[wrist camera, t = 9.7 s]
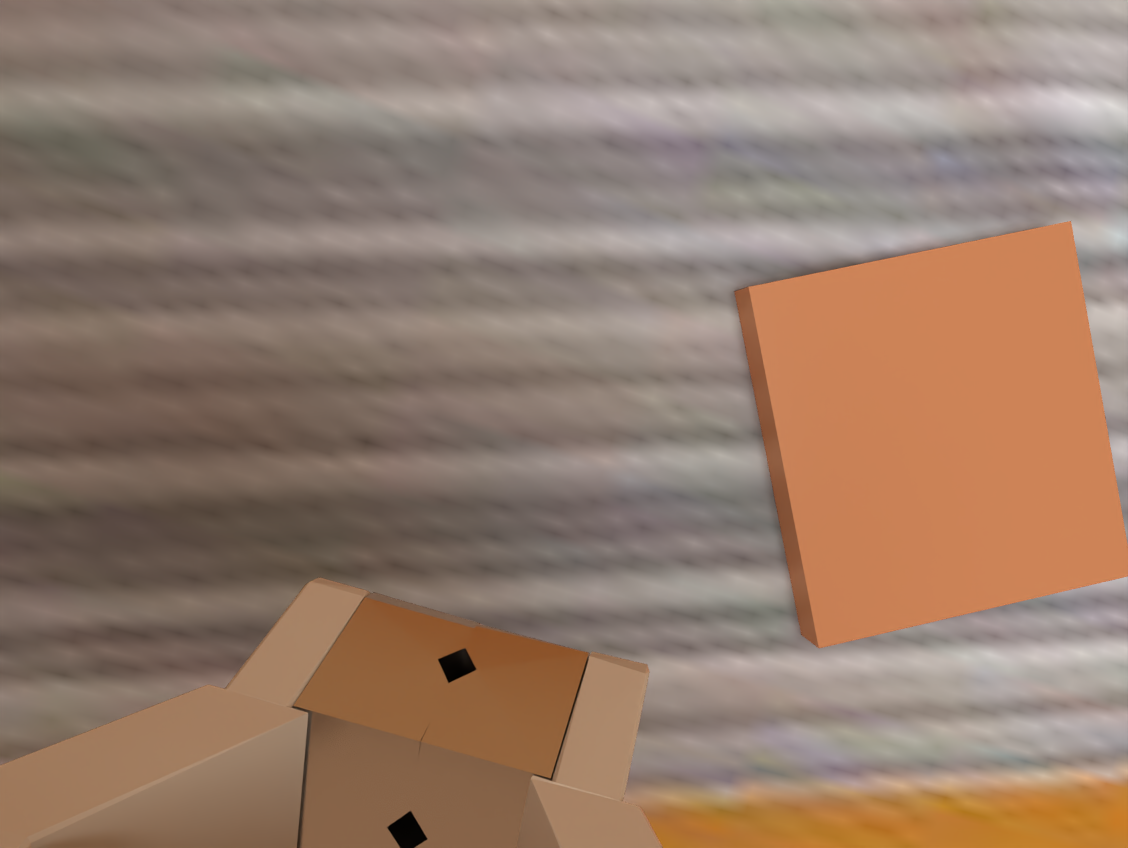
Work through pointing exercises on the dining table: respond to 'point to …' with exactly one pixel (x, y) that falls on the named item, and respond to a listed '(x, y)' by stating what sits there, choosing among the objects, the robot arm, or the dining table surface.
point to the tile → (934, 433)
